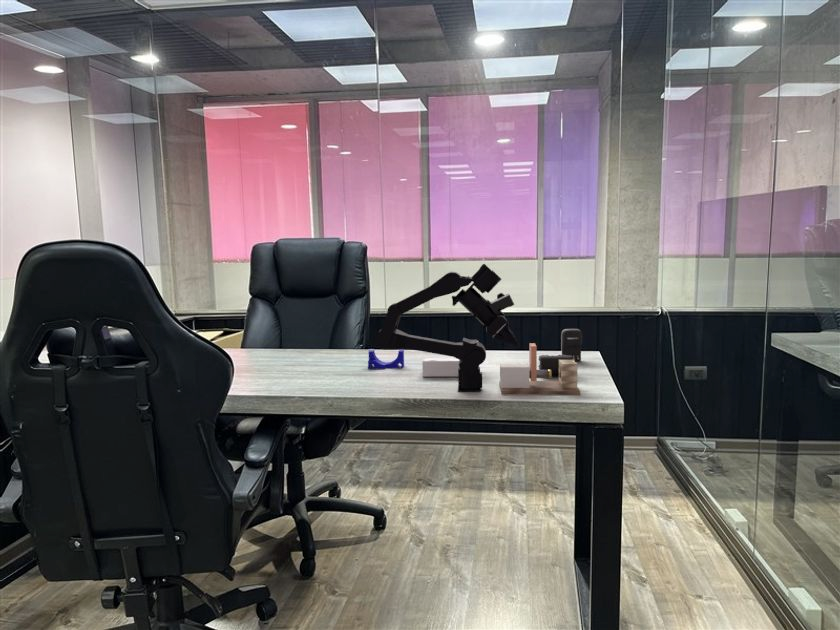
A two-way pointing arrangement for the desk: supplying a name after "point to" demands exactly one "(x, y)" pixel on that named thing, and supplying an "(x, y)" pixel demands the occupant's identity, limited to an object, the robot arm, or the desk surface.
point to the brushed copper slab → (533, 365)
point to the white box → (440, 366)
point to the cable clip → (384, 365)
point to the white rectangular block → (514, 375)
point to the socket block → (567, 374)
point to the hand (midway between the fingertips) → (516, 342)
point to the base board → (542, 389)
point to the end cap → (552, 362)
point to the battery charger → (571, 343)
